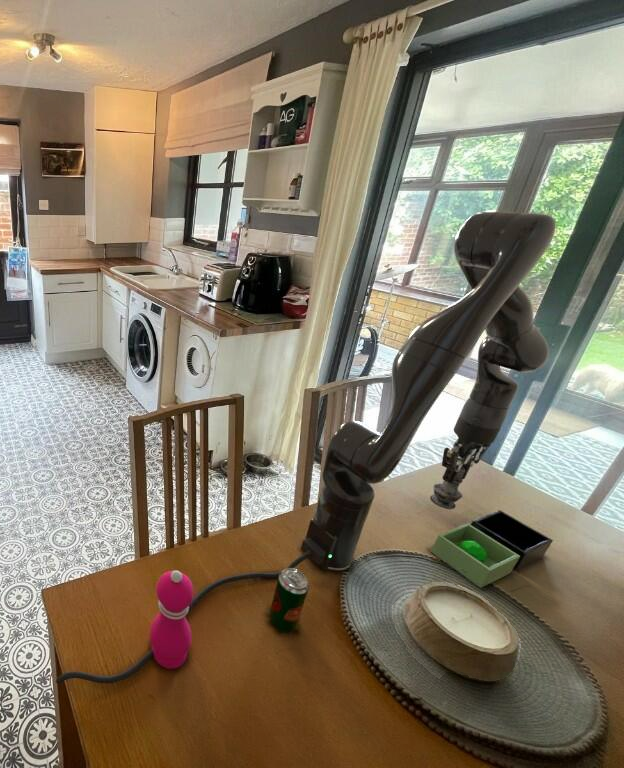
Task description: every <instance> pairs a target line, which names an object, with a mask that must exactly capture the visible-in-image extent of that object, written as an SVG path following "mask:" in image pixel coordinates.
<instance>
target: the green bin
mask: <svg viewBox="0 0 624 768" xmlns="http://www.w3.org/2000/svg"><path fill="white" fill-rule="evenodd" d="M463 541H474V542H476V543H478V544H479V545H480V546H482V547H483V548H484V549H485V551H486V553H487V558H486V561H485V562H484V563H481V562H480V561H478V560H477V559H475V558H474V557H472V556H471V555H469V554H468V553H467V552H465V551H464V550H462V549H461V548H459V547H458V544H459V543H461V542H463ZM430 553H432V554H434V555H435V556H436V557H438V558H439V559H441V561H443V562H445V563H446V564H447V565H448V566H450V567H451V568H452V569H454V570H455V571H457V572H458V573H459V574H461V575H462V576H464V577H465V578H466V579H467V580H468V581H470V582H472V583H473V584H474V585H476V586H477V587H479V588H481V589H482V588H484V587H485V586H487V585H489V584H492V583H493V582H496V581H498V580H499V579H502V578H503V577H505V576H507V575H509V574H511V573H512V571H513V570H514V569H513V568H514V566H515V564H516V563H517V561H518V559H519V558H520V556H519V555H518V554H516V553H514V552H513V551H511V550H510V549H508V548H506V547H505V546H503V545H502V544H500V543H499V542H497V541H495V540H494V539H492V538H491V537H489V536H487V535H486V534H484V533H483V532H481V531H479V530H478V529H476V528H475V527H473V526H471V523H465V524H462V525H460V526H457V527H455V528H453V529H452V528H451V529H450V530H448V531H445V532H443V533H440V534H438V535H437V538H436V540H435V541H434V544H433V546H432V548H431V550H430ZM460 568H461V569H463V570H464V571H466V572H467V573H466V572H464V571H463V570H461V569H460Z"/></svg>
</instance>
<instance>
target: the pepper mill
mask: <svg viewBox="0 0 624 768" xmlns="http://www.w3.org/2000/svg"><path fill="white" fill-rule="evenodd" d="M155 591H156V596H157V599H158V608H159V611H160V612H159V613H158V614H157V615H156V616H155V618H154V619H153V621H152V623H151V625H150V629H149V639H150V640H149V641H150V643H151V649H152V650H153V653H154V656H153V657H152V658H153V659H154V660H155V661H156V663H157V664H158V665H160V666H161V667H163V668H165V669H171V670H173V669H177V668H179V667H181V666H182V665H183V664H184V663H185V661H186V659H187V655H188V652H189V650H190V648H191V645H192V630H191V626H190V623H189V622H188V619H187V618H186V616H187V615H188V613H189V612H188V610H189V605H190V604H191V602H192V600H193V598H194V597H195V595H194V593H195V592H194V591H195V590H194V586H193V583H192V581H191V579H190V578H189V577H188V576H187V575H186V574H184V573H183V572H181V571H180V570H170V571H167V572H164V573H162V575H161V576H160V578H159V579H158V581H157V584H156V590H155ZM186 614H187V615H186ZM185 615H186V616H185Z"/></svg>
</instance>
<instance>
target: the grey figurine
mask: <svg viewBox="0 0 624 768" xmlns="http://www.w3.org/2000/svg"><path fill="white" fill-rule="evenodd" d="M464 473H465V469H464V468H463V467H461V468H460V470H459V472H458V474H457V476H456V479H455V481H454V483H451V484H450V483H448V482H446V481H444V480H443V481H442V482H441V483H440V482H438V483H435V484H433V487H432V488H433V494H431V495H430V496H429V499H430V501H431V503H433V504H434V505H436V506H437V507H440V508H443V509H447V510H455V508H456V507H457V506H456V505H457V504H456V503H457V502H458V501H459V500H461V499H462V498H463V494H462V492H461V491H460V490H459V486H460V485H461V484H463V480H462V477H463V475H464Z"/></svg>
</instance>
